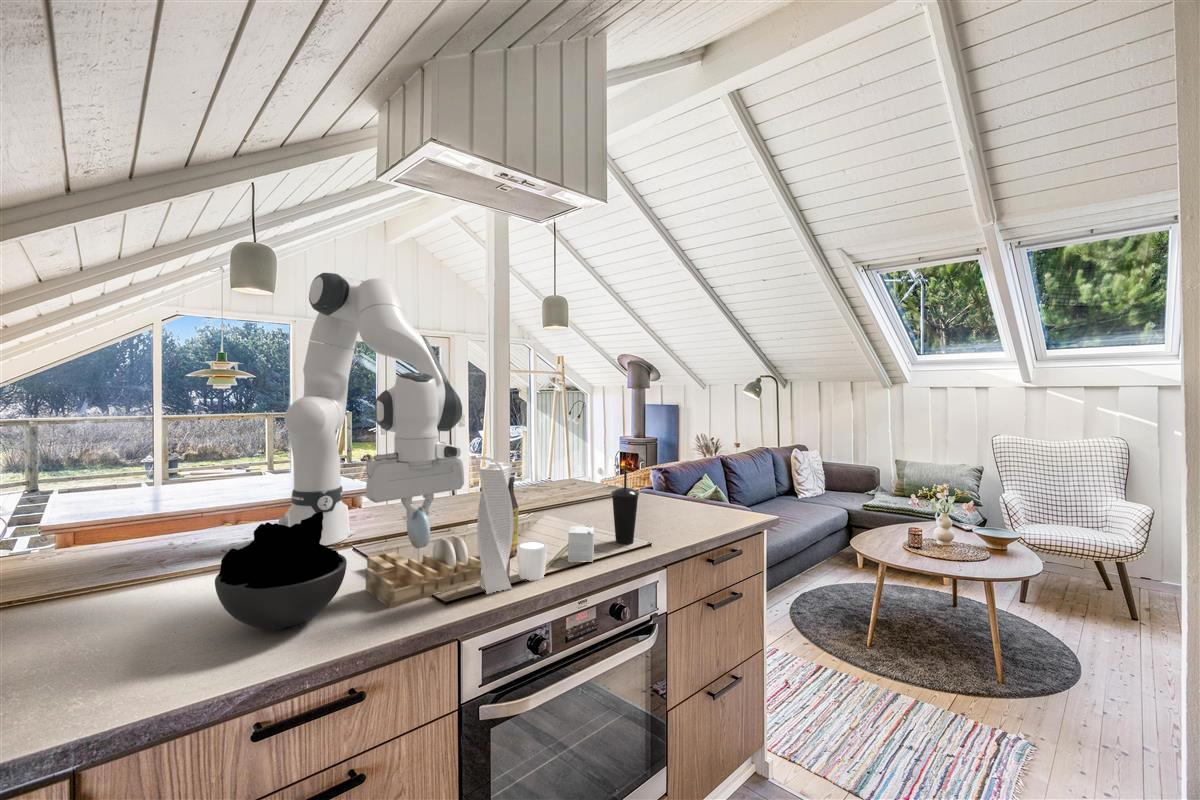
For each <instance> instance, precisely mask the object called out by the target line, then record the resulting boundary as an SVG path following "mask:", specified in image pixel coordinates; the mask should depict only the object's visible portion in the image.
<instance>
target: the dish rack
mask: <svg viewBox="0 0 1200 800" xmlns="http://www.w3.org/2000/svg"><path fill="white" fill-rule="evenodd" d="M407 560H408V565H407V566H406V565H405V564H403V563H401V562H399V561H396V562H395V569H391V570H387V571H383V572H379V573H377V572H375V571H374V570H372V569H371V568H367V567H366V568H365V591H366V592H367V593H369V594H370V595H372V596H373V597H374V598H376V599H377V600H379V601H380V602H381V603H383V604H384V605H385V606H387V607H388V608H389V609H392V608H395V607H400V606H402V605H406V604H409V603H413V602H416V601H418V600H421V599H426V598H429V597H432V594H434V593H437V592H443V591H446V592H448V591H447V590H450V589H453V590H455V589H454V588H456V589H459V588H458V587H460V588H462V587H461V586H463V587H466V586H465V585H467V586H469V585H468V584H470V585H472V583H473V584H475V583H474V582H477V581H480V579H481V575H482V568H481V562H480V559H478V558H476V557H474V556H472V555H470V554H469V552H468V548H467V545H466V543H465V541H464V539H463V538H462V537H461V536H460V535H454V536H450V537H448V538H444V537H443V538H440V539H437V540H436V541H435V542H434V545H433V548H432V556H431V555H429V554H427V553H425V554H422V561H419V560H416V559H414V558H413V557H408V558H407ZM477 583H478V582H477ZM450 591H451V590H450ZM443 593H444V592H443Z"/></svg>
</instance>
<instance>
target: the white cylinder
mask: <svg viewBox="0 0 1200 800" xmlns="http://www.w3.org/2000/svg"><path fill="white" fill-rule="evenodd" d="M547 553H548V544H547V543H546V542H544V541H538V540H537V541H536V540H533V541H532V540H529V541H523V542H520V543H518V545H517V554H516V555H517V564H518V565H517V566H518V576H520V577H521V578H523V579H527V580H529V581H528V582H530V581H539V580H542V579H544V578H545V576H544V575H546V564H547V556H548V554H547ZM520 577H519V578H520ZM521 578H520V579H521ZM523 579H522V580H523ZM527 580H526V581H527Z"/></svg>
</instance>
